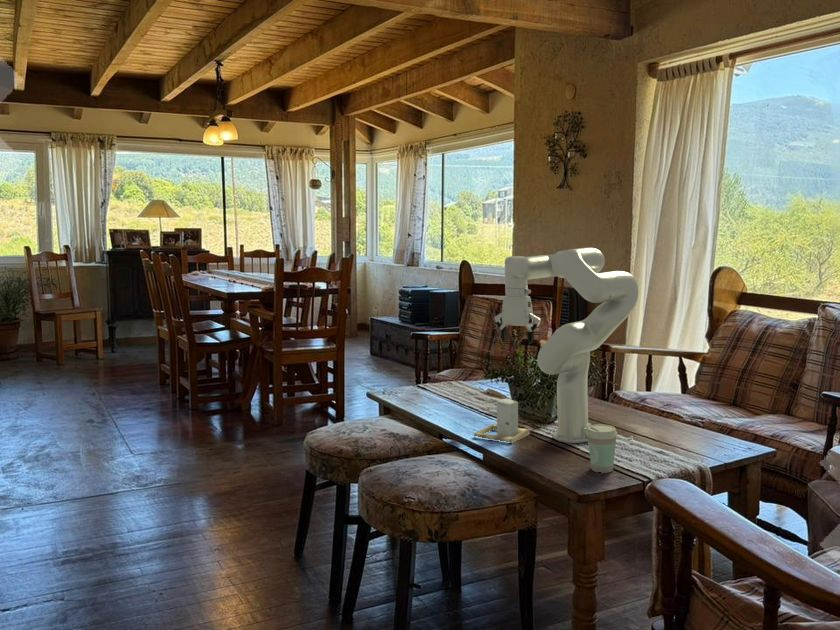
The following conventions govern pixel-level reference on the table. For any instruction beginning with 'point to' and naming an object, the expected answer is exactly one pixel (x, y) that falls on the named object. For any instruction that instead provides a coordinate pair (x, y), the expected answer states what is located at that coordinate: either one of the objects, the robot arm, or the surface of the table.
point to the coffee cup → (601, 447)
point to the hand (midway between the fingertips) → (517, 341)
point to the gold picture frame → (520, 435)
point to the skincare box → (507, 417)
